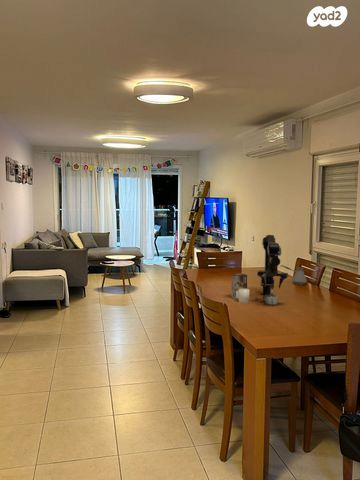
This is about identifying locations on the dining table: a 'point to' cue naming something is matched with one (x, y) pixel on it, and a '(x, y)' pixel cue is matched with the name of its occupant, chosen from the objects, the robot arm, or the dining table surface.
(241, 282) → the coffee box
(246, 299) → the mug
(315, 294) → the dining table surface
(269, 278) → the robot arm
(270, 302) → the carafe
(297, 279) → the coffee pot
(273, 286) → the plunger
